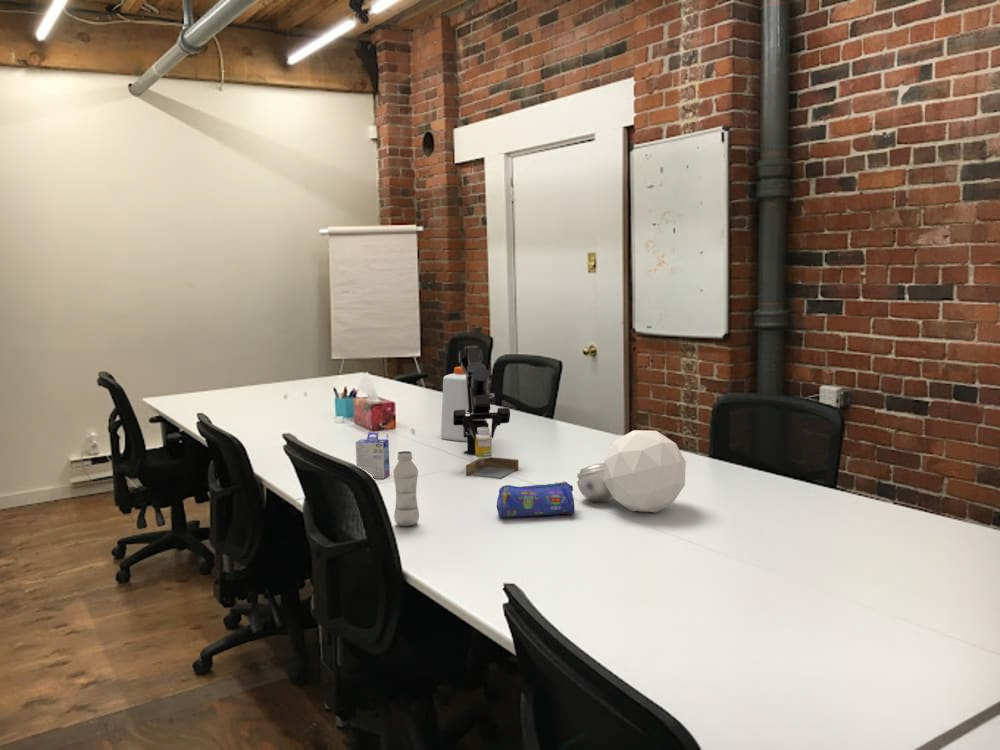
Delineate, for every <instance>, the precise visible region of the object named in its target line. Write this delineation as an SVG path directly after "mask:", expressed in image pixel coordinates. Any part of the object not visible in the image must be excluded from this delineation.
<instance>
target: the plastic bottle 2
mask: <svg viewBox="0 0 1000 750" xmlns="http://www.w3.org/2000/svg"><path fill="white" fill-rule="evenodd" d="M442 379H443V380H442V402H441V403H442V405H441V426H440V427H441V428H440V429H441V430H440V431H441V432H440V436H441V438H442V439H443V440H446V441H447V440H448V441H454V442H463V443H465V442H466V443H467V437H465V438H464V436H463V425H453V412H454V410H464V409H465V412H467V411H468V397H467V382H466V374H465V373H464V371H463V370H462V369H461V366H455V367H454V369H453V373H449V374H447V375H445V376H443V378H442ZM466 433H467V432H466Z"/></svg>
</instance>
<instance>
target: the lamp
mask: <svg viewBox="0 0 1000 750" xmlns="http://www.w3.org/2000/svg"><path fill="white" fill-rule="evenodd" d="M686 463H687V461H686V460H685V458H684V456H683V454H682V452H681V451H680V448H679V447H678V445H677V443H676V442H674V441H673V440H671V439H670V438H668V437H667V436H666V435H664V434H662V433H661V432H659V431H657V430H639V429H638V430H635V429H634V430H632V431H630V432H628V433H626V434H625V435H623V436H621V437H618V438H617V439H616V440H614V442H613V444H612V445H611V448H610V449H609V451H608V452H607V454H606V456H605V458H604V462H602V463H595V464H591V465H588V466H586V467H582V468H581V469H580V471H579V473H577V476H576V478H577V479H578V480H576V481H577V482H576V484H577V488H578V490H579V492H580V493H581V495H582V496H583V497H584V498H585V499H587V500H589V501H592V502H594V503H595V502H596V503H602V502H606V501H609V500H610V499H612V498H613V499H614V500H615V501H616V502H617V503H620V504H621V505H622V506H624V507H625V508H626V509H627V510H630V512H634V511H639V512H638V513H649V512H656V513H658V512H659V511H661V510H662V509H664V508H666V507H667V506H669V505H670V504H673V503H674V502H675V500H676V499H677V498H678V497H679V495H680V493H681V492H682V490H683V488H684V487H685V486H686V469H687V468H686V465H687V464H686Z"/></svg>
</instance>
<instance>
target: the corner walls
mask: <svg viewBox="0 0 1000 750" xmlns="http://www.w3.org/2000/svg"><path fill="white" fill-rule="evenodd" d="M486 466H487V467H497V468H507V469H515V471H514V472H517V471H519V468H520V467H519V459H513V458H503V457H493V456H491V457H490V458H485V459H480V458H477V459H476V460H475V459H474V461H472V462H470V463H468V464H466V465H465V476H467V477H472V476H471V474H472V473H474V472H476V471H478V470H480V469H482V468H484V467H486Z"/></svg>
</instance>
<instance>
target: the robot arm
mask: <svg viewBox="0 0 1000 750" xmlns="http://www.w3.org/2000/svg"><path fill="white" fill-rule="evenodd" d="M458 351H459V352H458V363H459V364H460V367H461V369H462V370H463V371H464V373H465V374H466V382H467V397H468V411H467V412H465V409H464V410H454V412H453V425H463V436H464V438H465V437H467V442H466V447H467V450H465V451H463V454H467V455H475V439H476V434H478V433H477V428H478V427H489V428H490V426H489V425H490V424H489V423H488V420H491V430H490V431H491V432H490V435H491V439H494V436H495V432H496V430H497V428H498V426H501V425H502V424H509V422H510V417H511V410H510V408H509V407H498V408H497V411H496V412H490V411H491V405H492V404H495V403H496V395H495V394H496V393H495V392H493V393H492V392H489V393H488V387H489V382H490V379H492V374H491V373H490V372H489V369H487V367H486V365H485V364H483V363H482V362H483V349H482V348H480V345H476V344H473V345H472V344H471V345H465V346H464V348H462V349H460V350H458ZM466 432H467V433H466Z"/></svg>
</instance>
